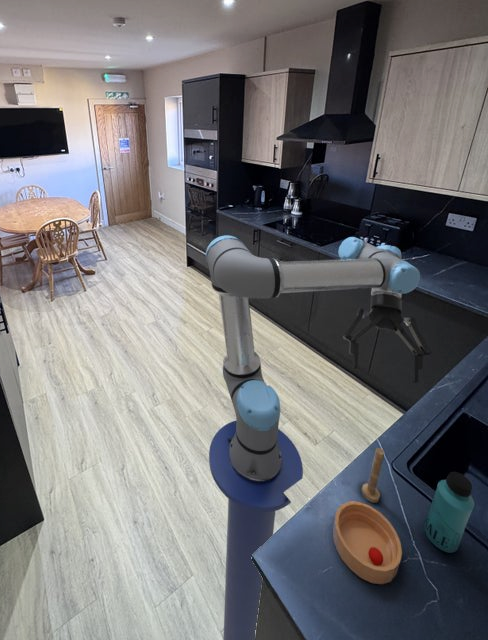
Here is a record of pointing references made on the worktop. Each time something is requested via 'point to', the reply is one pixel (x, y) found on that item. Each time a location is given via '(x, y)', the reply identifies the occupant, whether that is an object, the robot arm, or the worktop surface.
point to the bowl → (366, 541)
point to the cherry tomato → (375, 556)
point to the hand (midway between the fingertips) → (384, 374)
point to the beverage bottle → (449, 512)
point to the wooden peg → (374, 478)
